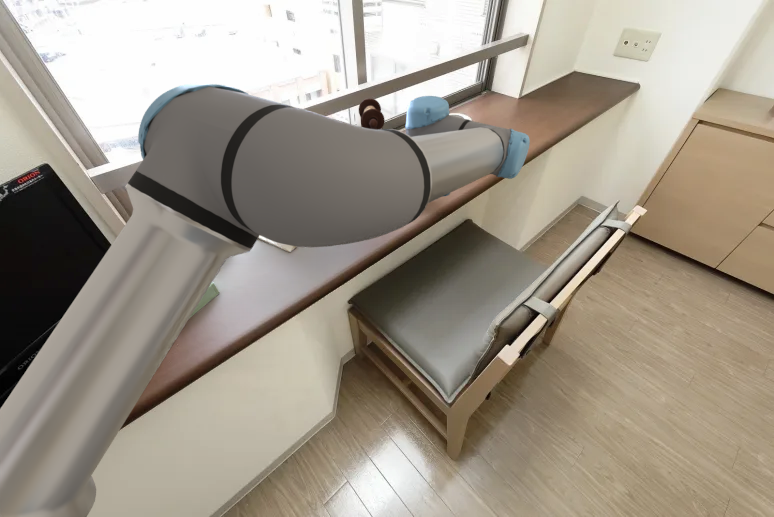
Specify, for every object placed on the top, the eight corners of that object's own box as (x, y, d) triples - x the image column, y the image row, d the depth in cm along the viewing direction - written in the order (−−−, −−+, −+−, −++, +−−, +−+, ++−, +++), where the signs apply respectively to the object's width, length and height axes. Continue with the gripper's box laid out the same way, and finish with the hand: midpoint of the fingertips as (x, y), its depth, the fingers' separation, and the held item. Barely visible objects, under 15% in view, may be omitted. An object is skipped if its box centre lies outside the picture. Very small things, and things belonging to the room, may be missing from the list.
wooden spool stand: (405, 188, 90) (406, 112, 76) (350, 194, 89) (340, 118, 75) (396, 161, 101) (396, 90, 87) (347, 166, 100) (338, 94, 85)
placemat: (290, 252, 74) (289, 251, 74) (251, 235, 79) (250, 234, 78) (324, 222, 81) (323, 221, 81) (286, 208, 86) (286, 206, 86)
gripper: (375, 233, 64) (265, 235, 65) (379, 165, 82) (292, 167, 82) (373, 200, 59) (253, 203, 60) (377, 135, 77) (284, 138, 77)
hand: (275, 182), depth 71 cm, fingers open, 13 cm apart
